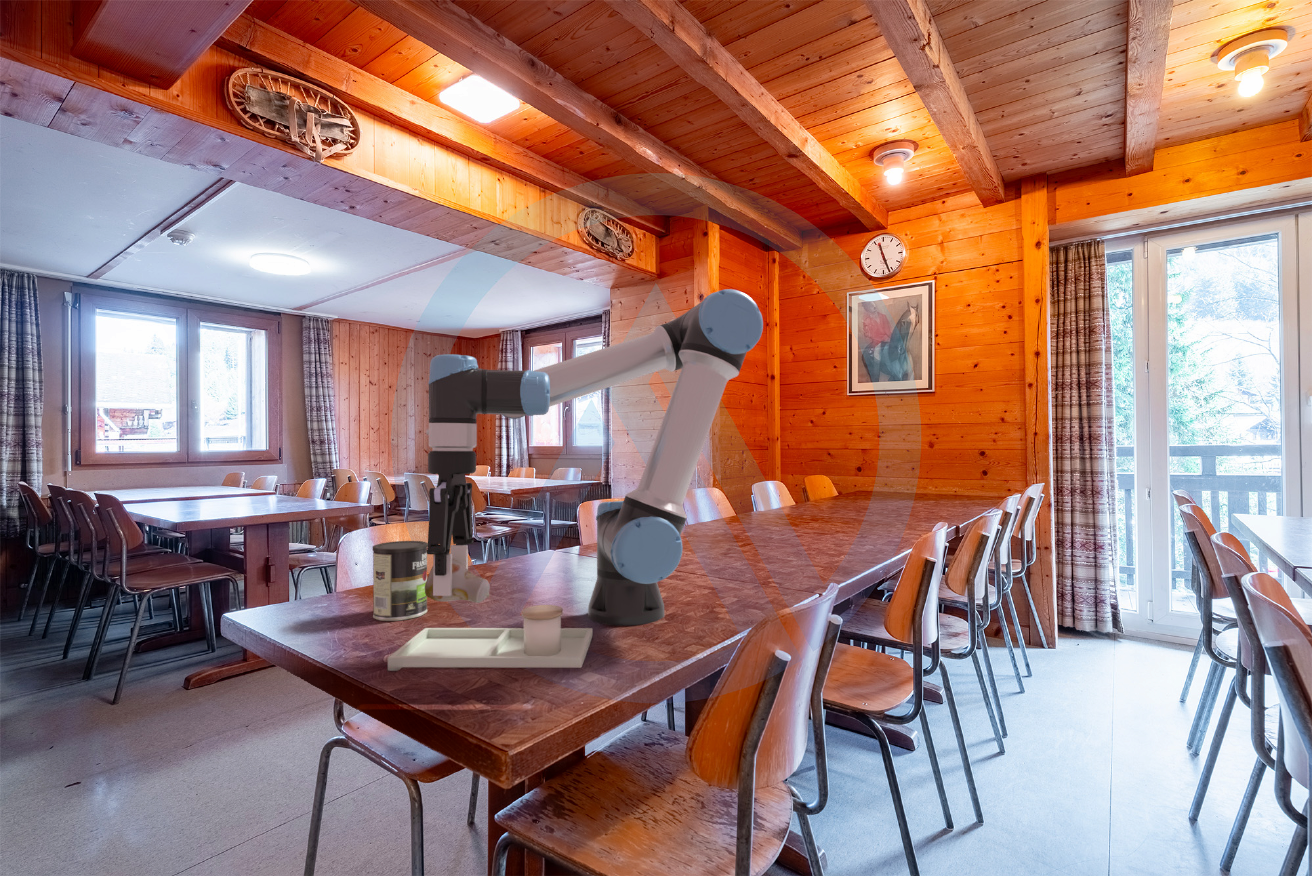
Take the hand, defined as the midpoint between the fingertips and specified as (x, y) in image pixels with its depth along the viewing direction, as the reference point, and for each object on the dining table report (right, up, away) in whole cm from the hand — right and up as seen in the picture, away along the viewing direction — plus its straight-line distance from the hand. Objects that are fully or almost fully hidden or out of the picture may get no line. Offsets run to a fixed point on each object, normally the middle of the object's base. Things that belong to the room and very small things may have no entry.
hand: (451, 588), depth 99 cm
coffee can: (-18, -11, +23) cm, 31 cm away
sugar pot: (+15, -10, 0) cm, 18 cm away
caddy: (+8, -11, 0) cm, 13 cm away
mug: (+1, -2, 0) cm, 3 cm away
